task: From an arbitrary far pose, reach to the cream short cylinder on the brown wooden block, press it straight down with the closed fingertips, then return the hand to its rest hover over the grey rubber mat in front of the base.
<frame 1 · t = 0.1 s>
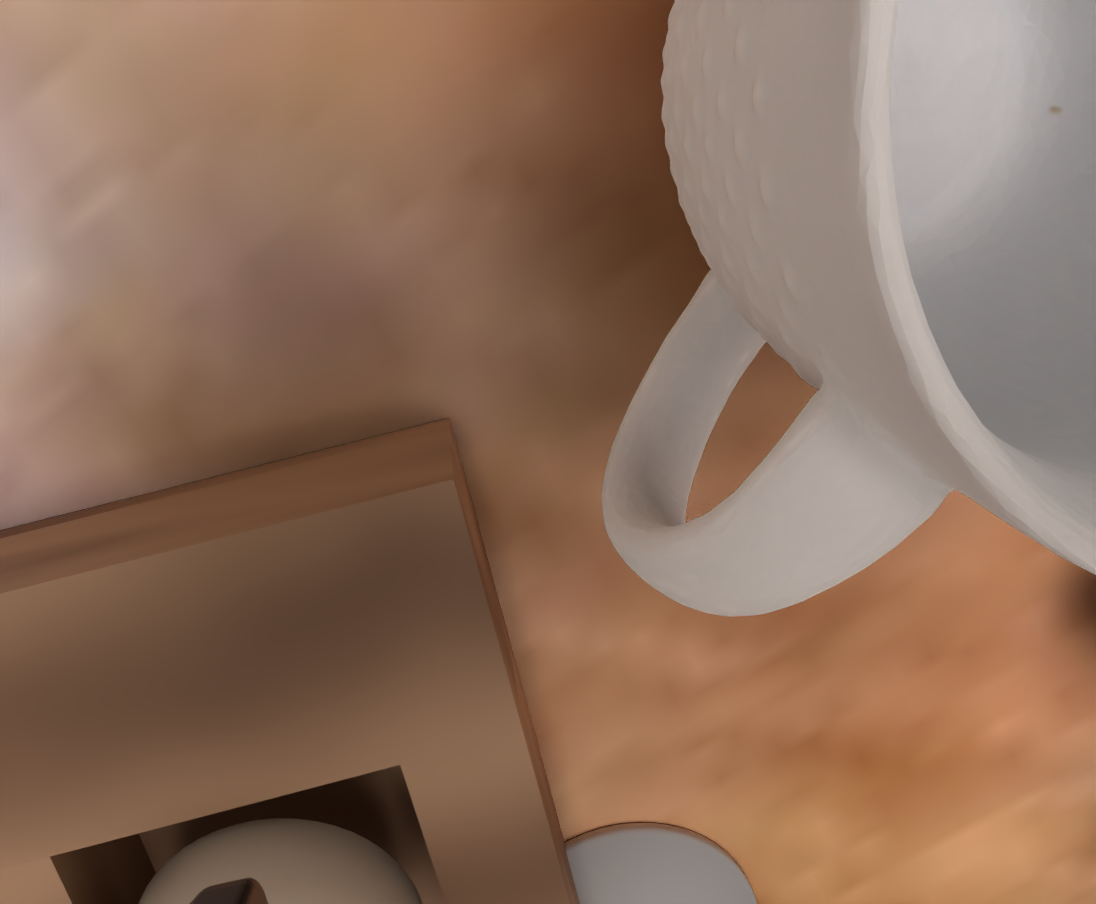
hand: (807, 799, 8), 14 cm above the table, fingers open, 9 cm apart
mug: (817, 133, 21), on the table
brown wooden block: (303, 820, 25), on the table
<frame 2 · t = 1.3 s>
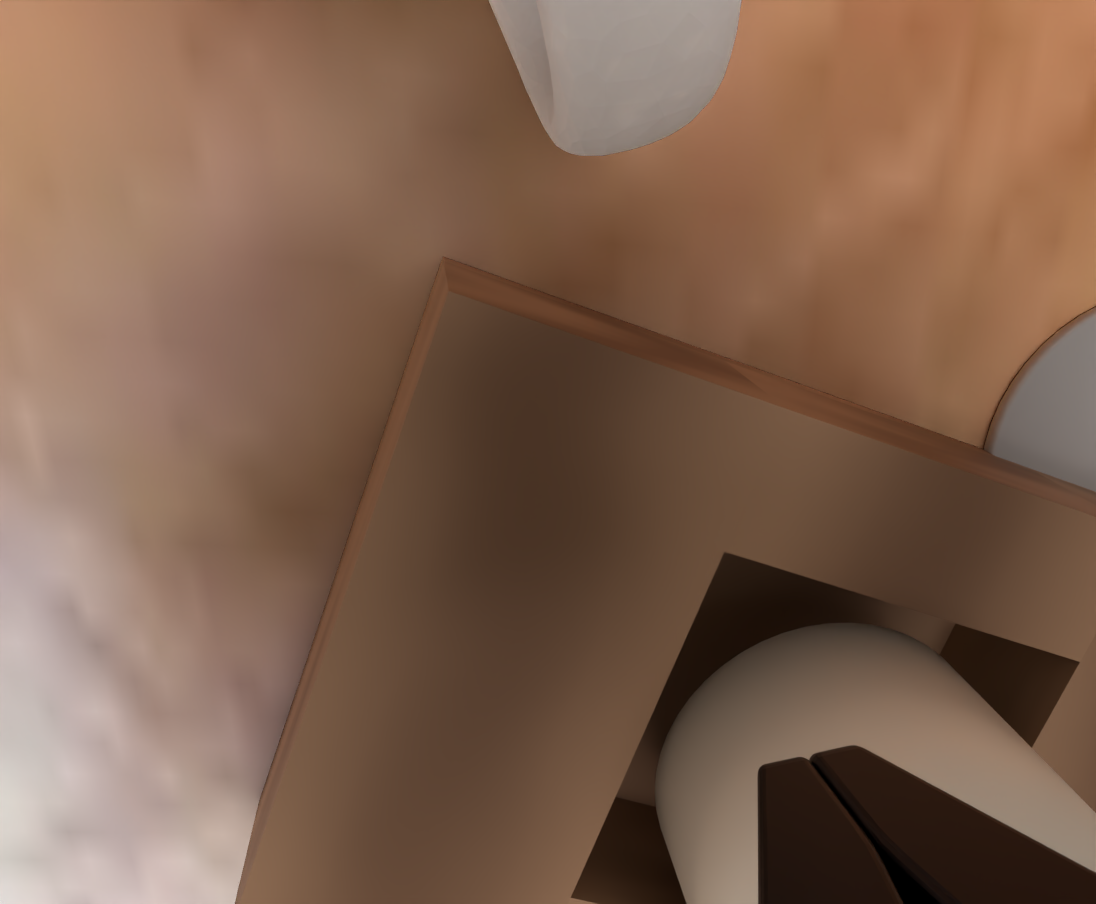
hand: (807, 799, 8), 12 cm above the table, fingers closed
cream short cylinder: (898, 902, 15), point 7 cm above the table, slide at 0.0 cm
brown wooden block: (752, 665, 22), on the table
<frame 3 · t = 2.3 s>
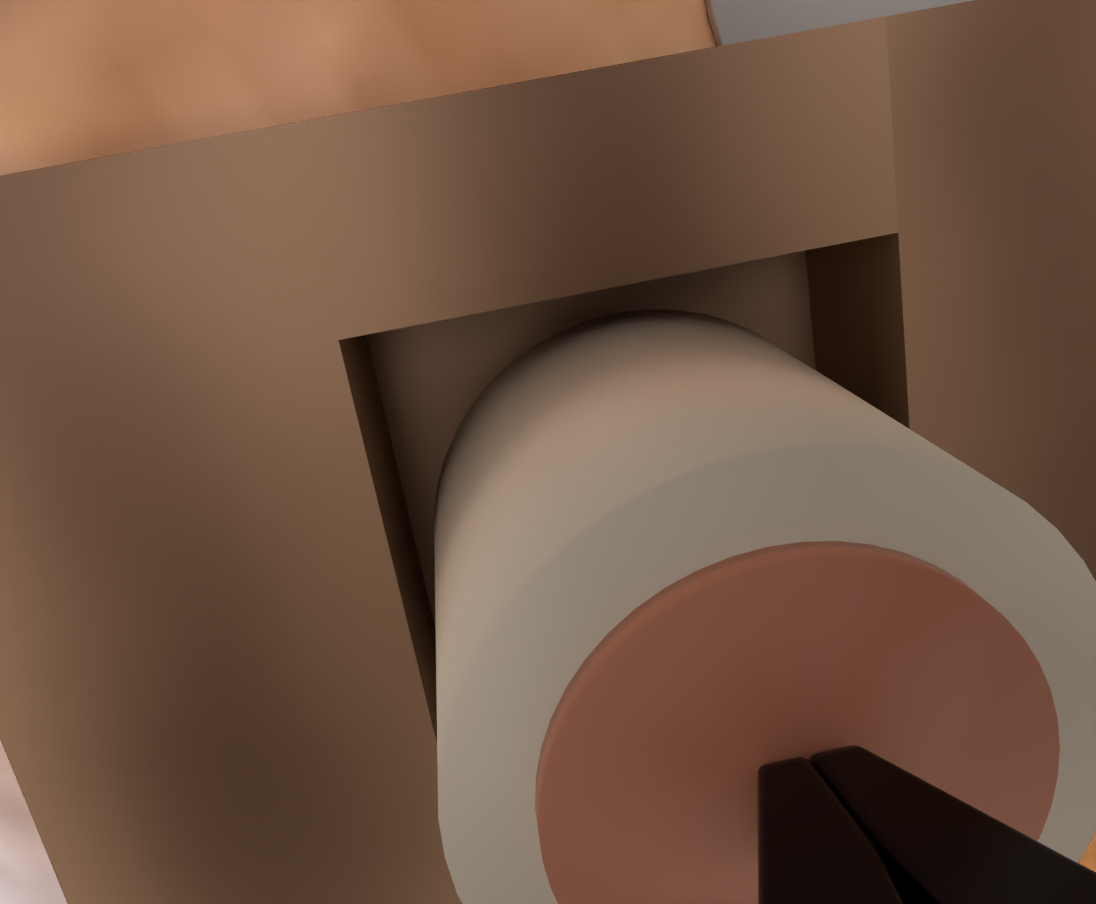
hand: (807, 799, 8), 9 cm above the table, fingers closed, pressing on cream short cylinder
cream short cylinder: (705, 623, 11), point 6 cm above the table, slide at 0.7 cm, touching gripper
brown wooden block: (609, 452, 17), on the table
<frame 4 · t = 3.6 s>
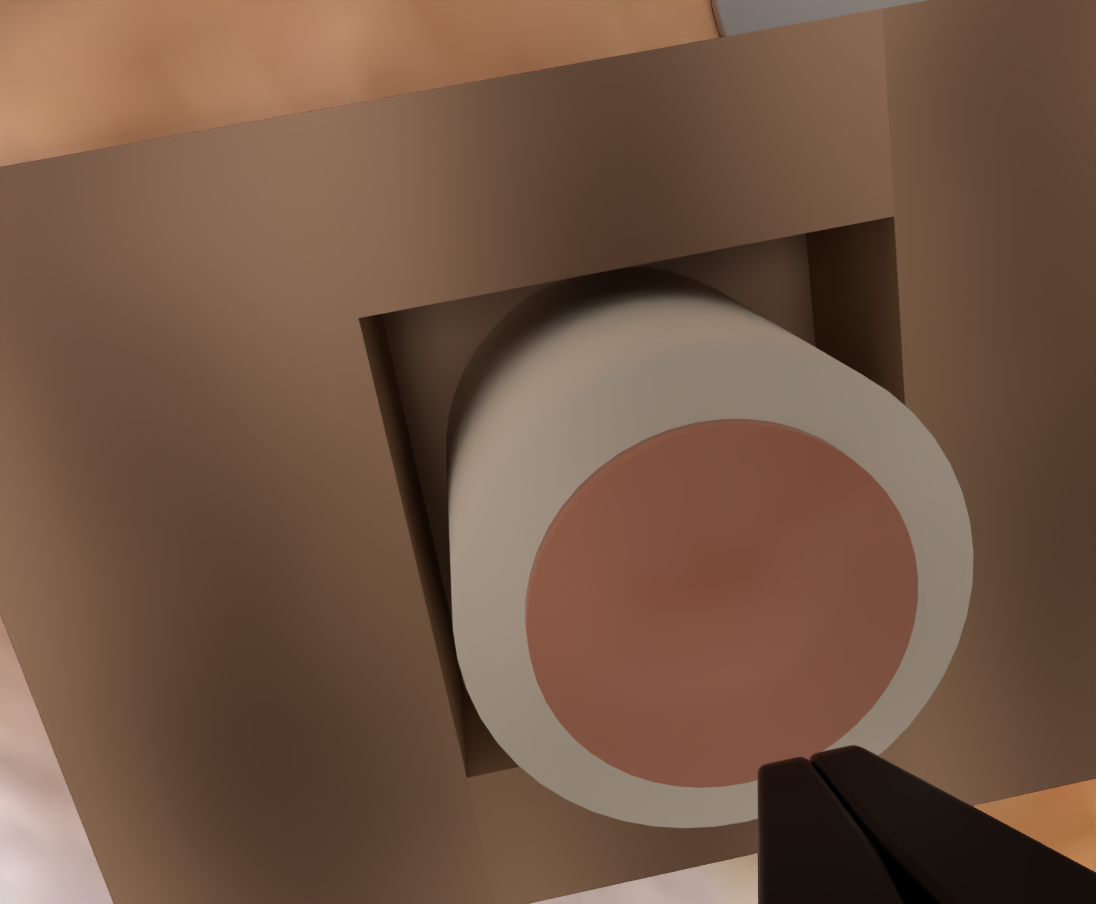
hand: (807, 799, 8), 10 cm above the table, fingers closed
cream short cylinder: (664, 513, 14), point 4 cm above the table, slide at 3.1 cm
brown wooden block: (616, 432, 18), on the table
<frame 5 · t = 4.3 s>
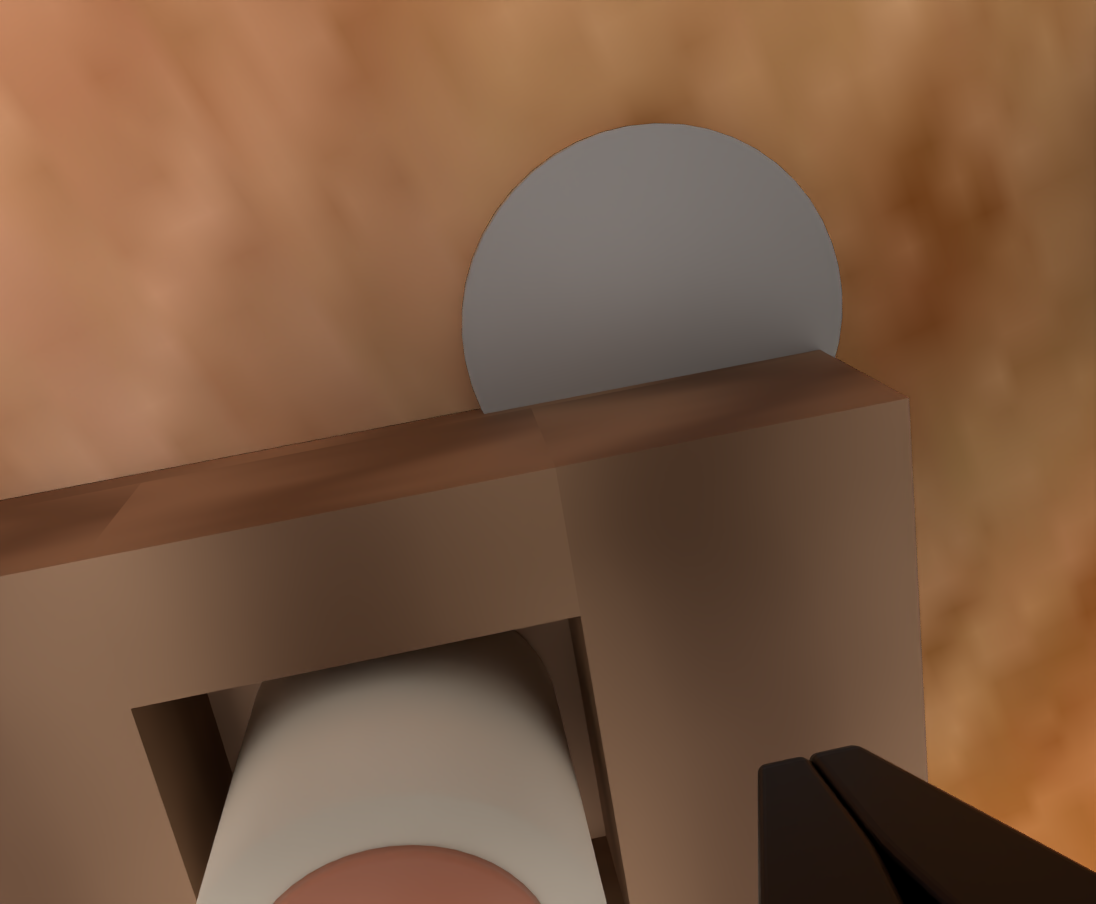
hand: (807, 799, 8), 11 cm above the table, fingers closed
cream short cylinder: (405, 840, 17), point 4 cm above the table, slide at 3.1 cm
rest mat: (651, 322, 19), on the table
brown wooden block: (408, 713, 20), on the table
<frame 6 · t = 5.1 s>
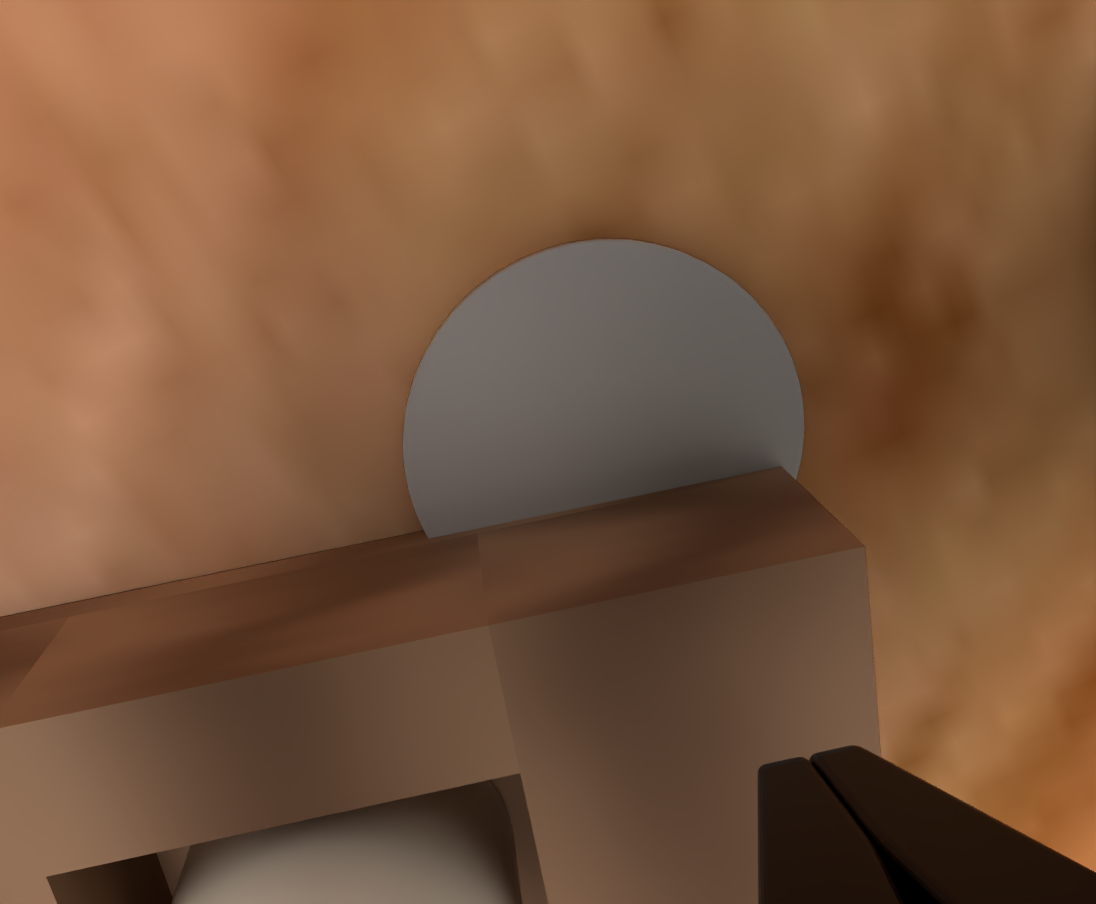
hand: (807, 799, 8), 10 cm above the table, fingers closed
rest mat: (603, 440, 18), on the table
brown wooden block: (358, 835, 20), on the table
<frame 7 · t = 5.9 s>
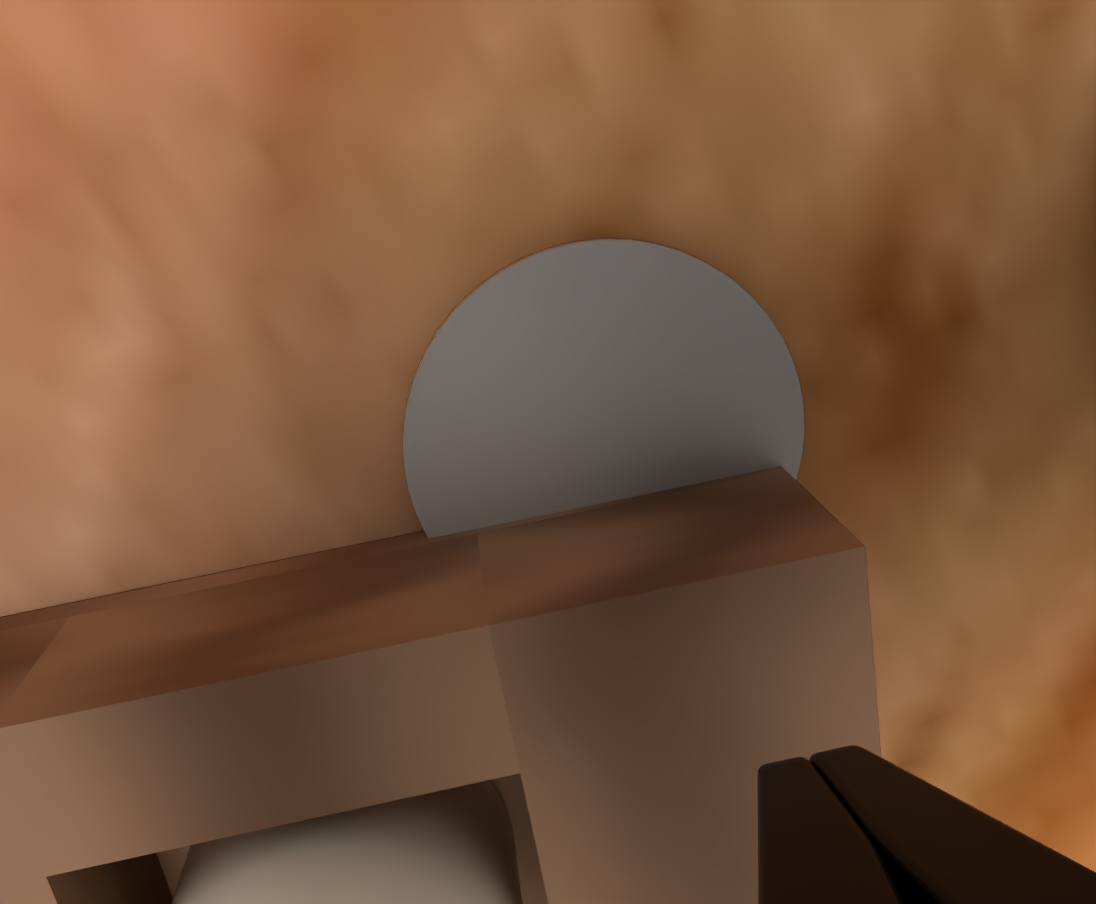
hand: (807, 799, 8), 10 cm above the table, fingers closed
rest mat: (603, 440, 18), on the table
brown wooden block: (359, 835, 20), on the table
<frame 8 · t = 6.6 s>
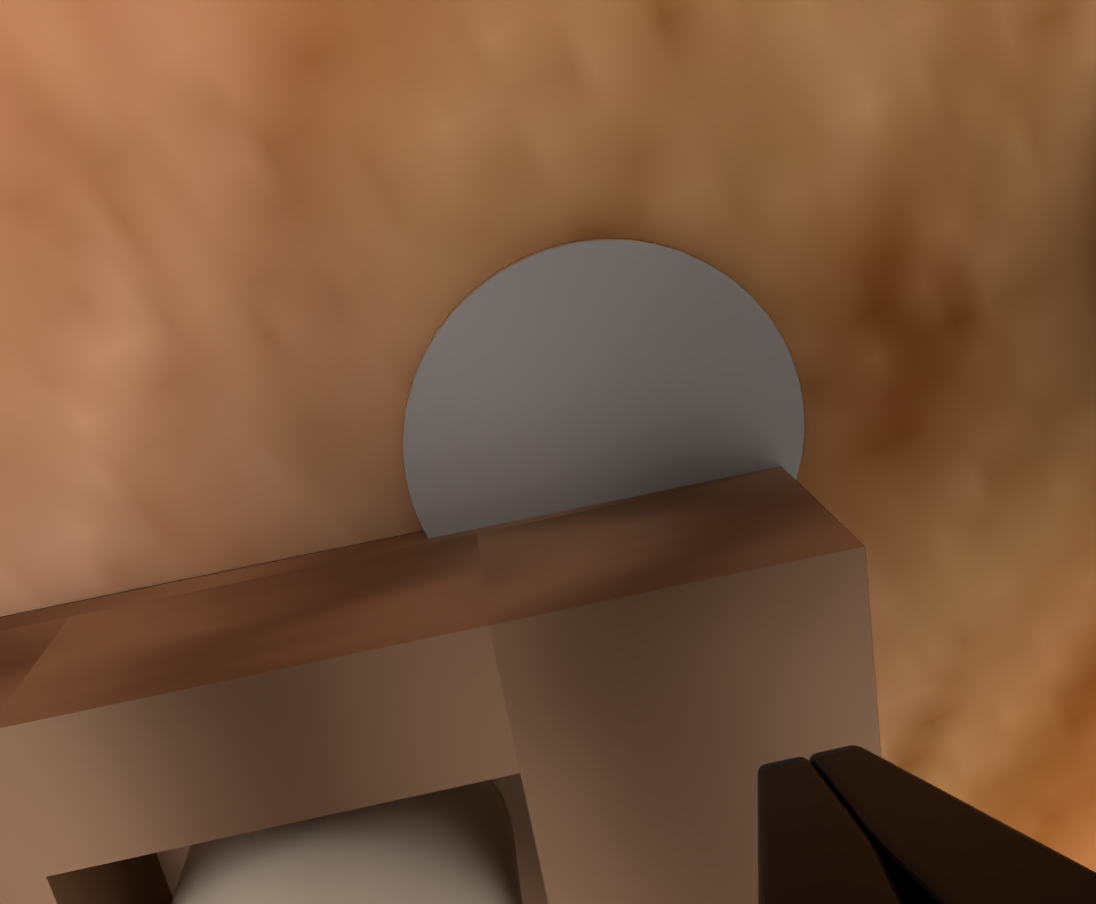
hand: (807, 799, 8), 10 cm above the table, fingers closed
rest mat: (603, 440, 18), on the table
brown wooden block: (359, 835, 20), on the table
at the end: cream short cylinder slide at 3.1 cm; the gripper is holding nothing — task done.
